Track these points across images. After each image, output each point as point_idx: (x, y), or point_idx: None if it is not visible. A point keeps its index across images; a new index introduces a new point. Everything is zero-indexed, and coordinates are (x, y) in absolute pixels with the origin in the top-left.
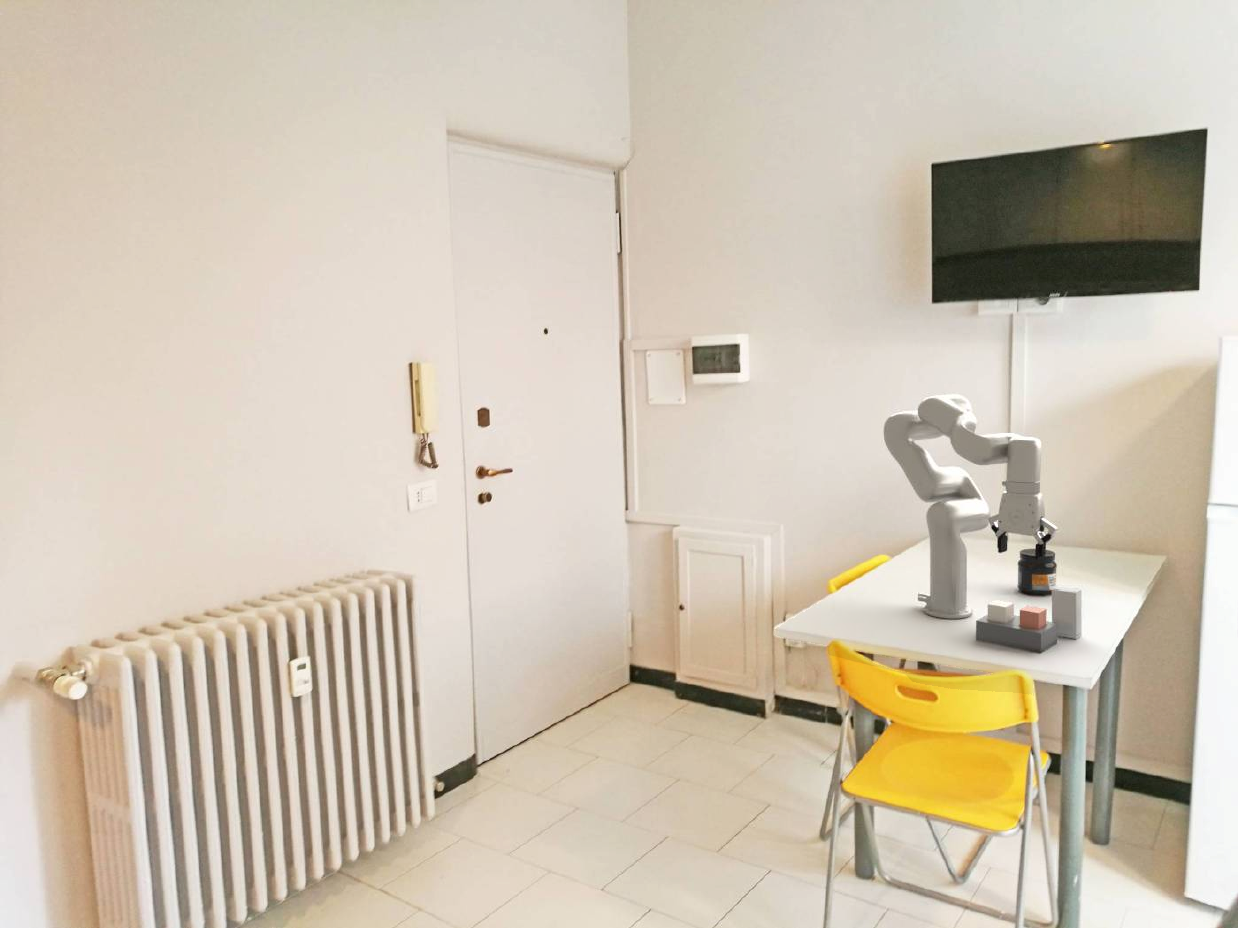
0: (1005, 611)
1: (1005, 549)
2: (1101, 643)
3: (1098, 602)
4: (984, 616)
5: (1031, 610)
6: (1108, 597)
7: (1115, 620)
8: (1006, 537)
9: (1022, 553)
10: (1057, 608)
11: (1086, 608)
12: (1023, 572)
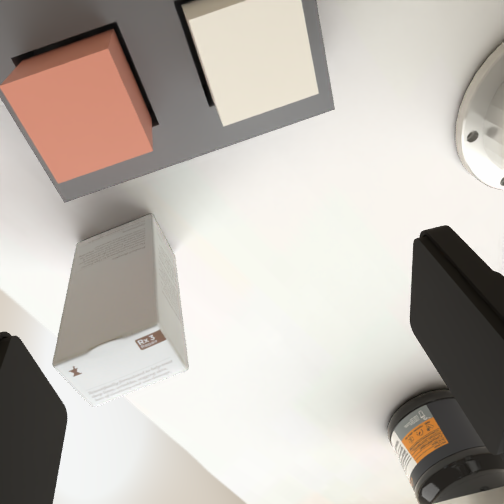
0: (188, 15)
1: (418, 316)
2: (11, 276)
3: (285, 459)
4: (315, 3)
5: (66, 95)
6: (294, 486)
7: (166, 417)
8: (492, 436)
9: None
10: (131, 277)
11: (272, 421)
12: (473, 436)
